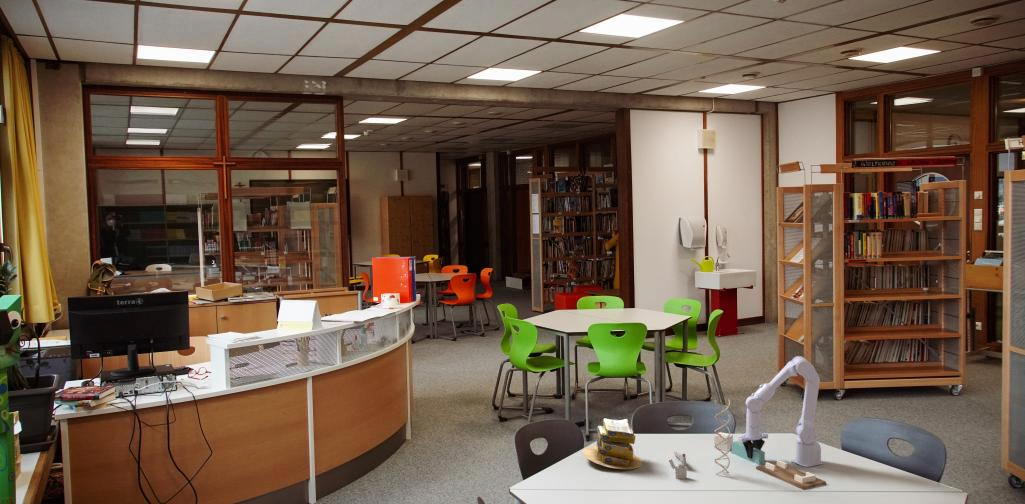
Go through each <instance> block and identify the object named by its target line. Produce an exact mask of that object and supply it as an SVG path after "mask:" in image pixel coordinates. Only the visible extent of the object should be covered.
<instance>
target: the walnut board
mask: <svg viewBox="0 0 1025 504" xmlns="http://www.w3.org/2000/svg"><path fill="white" fill-rule="evenodd" d="M770 464H773V465H775V466H776V471H772V470H770V469H768V468H765V464H761V465H757V466H756V467H755V469H756V470H758V471H761V472H762V473H765V474H767V475H769V476H771V477H774V478H776V479H779V480H781V481H783V482H785V483H787V484H790V485H792V486H794V487H796V488H799V489H801V490H806V489H811V488H816V487H820V486H823V485H824V486H825V485H826V484H827V481H825V480H823V479H821V478H818V477H816V480H815V481H810V482H806V483H800V482H798V481H796V480H794V475H796V474H797V475H799V476H801V477H804V476H806V472H803V471H802V470H799V469H796V468H793V467H791V466H789V465H787V468H786V469H784V468H782V467H780V466H777V461H776V462H772V463H770Z"/></svg>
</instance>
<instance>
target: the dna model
mask: <svg viewBox="0 0 1025 504" xmlns="http://www.w3.org/2000/svg"><path fill="white" fill-rule="evenodd" d="M714 403H715V405H716V406H718V407H719V408H721V411H719V412H718V413H717V414H715V415H714V419H715V420H716V421H718V422H720V423H721V424H722V425H721V426H719V427H717V428H716V429H714V433H715V435H716V434H717V435H719V436H720V437H721V438H723V439H724V440H722V441H721V442H719V443H717V444H715V448H716V449H715V448H714V449H715V450H717V451H719V452H721V454H722V455H721V456H719V457H717V458H714V463H715V464H716V465H718V466H719V467H721V468H722V470H720V471H718V472H717V473H715V475H719V474H721V473H723V472H726V473H727V474H729V470H727V469H728V468H729V466H730V465H731V461H730V460H731V459H730V458H729V456H728V455H727V454H729V452H730V450H731V449H730V444H729V442H728V441H727V439H728V438H729V436H730V434H731V430H730V427H729V426H728V424H729V423H730V422H731V415H730V412H729V411H728V409H729V408H730V406H731V400H730V399H729V398H728V405H725V404H724V405H721V404H719V403H717V399H715V400H714ZM724 412H725V413H724ZM722 415H723V416H725V415H727V416H728V420H724V419H721V418H718V416H722ZM724 427H725V428H724ZM722 430H728V433H727V434H728V436H725V435H722V436H725V437H727V438H724V437H722V436H721V434H718V433H719V432H717V431H722ZM724 441H726V442H727V443H723V444H728V446H729V449H728V451H725V450H721V449H718V448H717V447H716V446H717V445H721V444H720V443H722V442H724ZM724 457H725V458H724ZM726 459H727V461H728V463H727V466H726V465H723V464H721V463H719V462H718V461H721V460H726Z"/></svg>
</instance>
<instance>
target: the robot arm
mask: <svg viewBox="0 0 1025 504" xmlns="http://www.w3.org/2000/svg"><path fill="white" fill-rule="evenodd" d="M791 359H792V360H789V361H788V362H787V363H786V365H785V366H783V368H782V369H781V370H780V371H779V372H778V373H777V374H776V375H775V376H774V377H773V378H772V380H770V382H768V383H767V382H766V383H763V384H760V385H759V386H758V387H759V388H757V390H756V391H755V392H752V393H751V394H750V396H748V397H747V398H746V400H745V406H746V417H745V418H746V421H745V422H746V423H745V424H746V427H745V431H746V432H745V433H744V435H742V436H739V437H738V440H737V441H738V442H740V443H743V445H744V447H745V449H746V453H747V457H748V458H750V459H752V457H753V448H756V449H759V450H761V451H762V448H763V446H764V445H765V442H766V441H765V440H764V439H769V433H767V432H761V425H762V423H761V420H762V417H761V416H762V415H761V411H762V409H763V406H764V405H765V404H766V403H767V402H768V401H769V400H770V399H771V398H772V397H773V396H774V395H775V394H776V389H777V388H778V387H779V386H781V385H782V384H783V383H784V382H785V381H787V379H789V378H790V377H799V376H798V375H800V376H802V378H804V379H805V386H804V387H805V388H804V396H803V402H802V403H803V404H802V409H801V410H802V411H801V417H800V418H799V421H798V424H797V425H796V428H795V434H796V436H797V438H796V441H795V443H796V448H795V449H796V452H795V459H792V460H791V462H792V463H794V464H797V465H799V466H801V467H804V468H811V467H815V466H819V465H823V462H822V448H821V447H822V446H821V445H820V443H819V442H818V441H817V433H816V425H815V418H816V410H817V405H818V404H817V403H818V396H819V390H820V389H819V388H820V382H821V378H820V376H819V375H818V372H817V370H816V368H815V366H814V365H813V364H812V363H811V362H809V361H808V360H807V359H806V358H805V357H804V356H801V355H797V356H794V357H793V358H791Z"/></svg>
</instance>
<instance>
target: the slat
mask: <svg viewBox="0 0 1025 504" xmlns="http://www.w3.org/2000/svg"><path fill="white" fill-rule="evenodd" d="M731 454H732V455H734V454H735V456H737V457H740V458H742V459H744V460H747V461H749V462H751V463H753V464H756V465H757V466H761V465H765V463H766V460H765V459H766V458H765V457H766V456H765V455H766V453H765V451H764V450H762V449H761V450H759V449H756V448H753V457H752V459H750V458H748V457H747V453H746V449H745V447H744V445H743V443H740V442H738V440H736V441H734V440H733V442H732V448H731Z"/></svg>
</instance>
